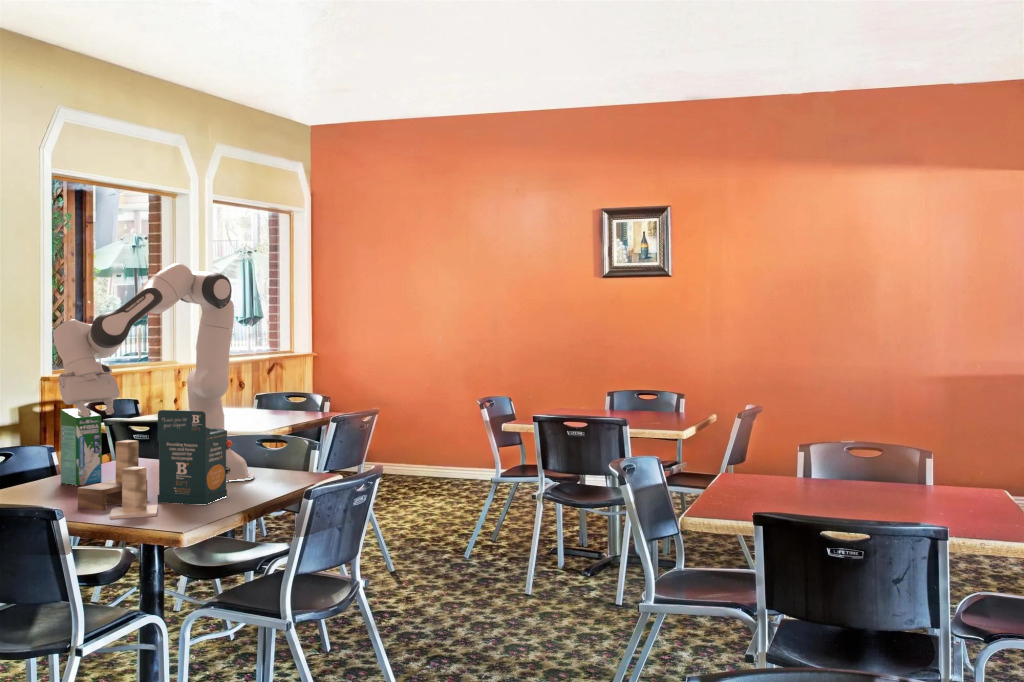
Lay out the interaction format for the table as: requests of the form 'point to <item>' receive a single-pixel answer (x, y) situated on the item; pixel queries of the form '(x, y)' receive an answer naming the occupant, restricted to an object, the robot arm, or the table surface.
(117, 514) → the ceramic tile
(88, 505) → the walnut shelf
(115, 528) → the table surface
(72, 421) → the milk carton
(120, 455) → the block
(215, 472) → the donation box
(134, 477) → the block
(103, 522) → the table surface
